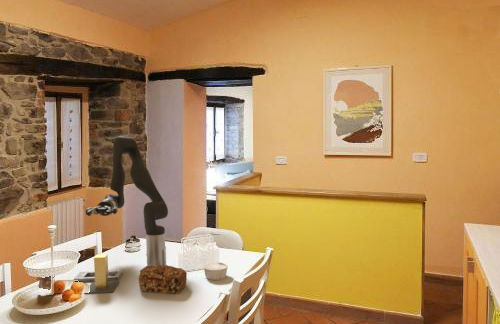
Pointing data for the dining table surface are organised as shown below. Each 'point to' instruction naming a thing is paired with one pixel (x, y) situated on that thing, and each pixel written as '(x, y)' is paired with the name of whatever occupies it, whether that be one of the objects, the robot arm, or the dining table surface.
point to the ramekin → (215, 270)
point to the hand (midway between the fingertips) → (97, 213)
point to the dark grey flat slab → (83, 275)
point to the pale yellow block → (101, 271)
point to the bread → (162, 279)
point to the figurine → (45, 283)
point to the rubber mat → (109, 289)
